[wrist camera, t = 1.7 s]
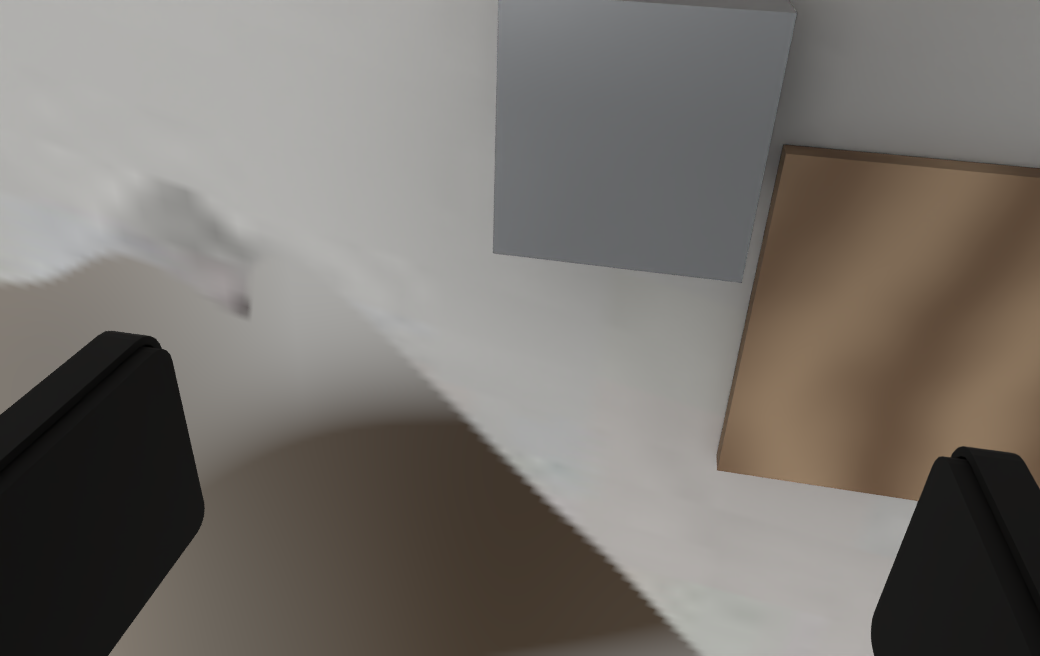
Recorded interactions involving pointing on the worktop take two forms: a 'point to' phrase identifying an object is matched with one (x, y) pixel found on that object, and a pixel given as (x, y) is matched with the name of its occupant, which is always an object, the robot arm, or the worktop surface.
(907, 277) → the walnut pad
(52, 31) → the worktop surface
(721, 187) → the matte grey cuboid
